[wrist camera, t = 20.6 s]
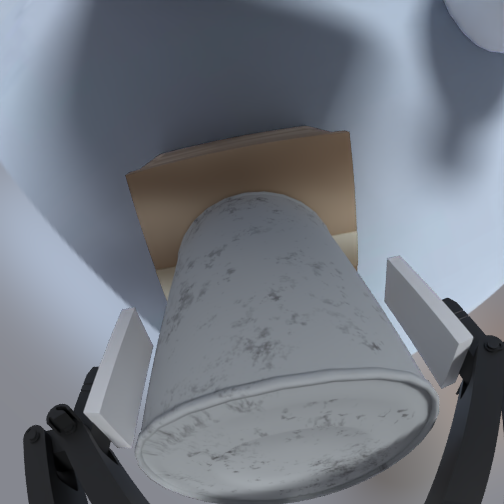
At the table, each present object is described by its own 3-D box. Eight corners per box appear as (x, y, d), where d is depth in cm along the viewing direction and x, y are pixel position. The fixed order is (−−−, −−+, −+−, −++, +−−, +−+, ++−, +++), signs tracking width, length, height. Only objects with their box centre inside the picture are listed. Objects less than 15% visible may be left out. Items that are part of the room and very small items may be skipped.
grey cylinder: (219, 345, 21) (223, 514, 10) (148, 232, 17) (65, 424, 6) (348, 298, 20) (427, 456, 9) (307, 164, 16) (456, 304, 5)
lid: (129, 172, 16) (124, 175, 15) (344, 130, 16) (350, 132, 15) (194, 356, 23) (194, 365, 22) (352, 326, 22) (356, 333, 22)
